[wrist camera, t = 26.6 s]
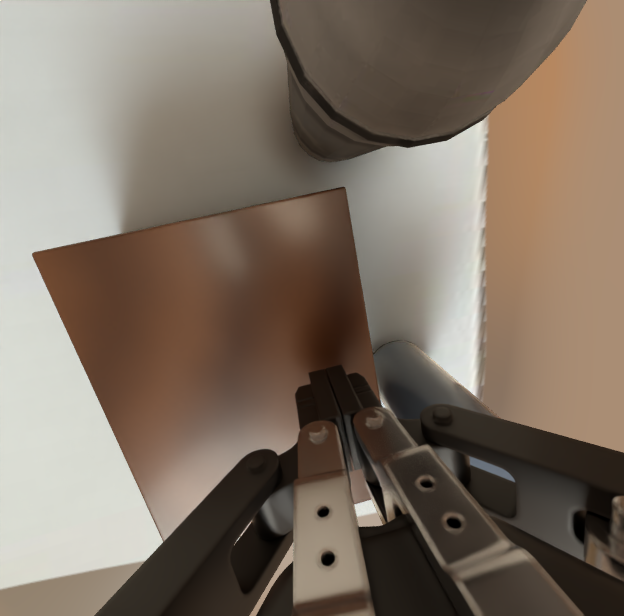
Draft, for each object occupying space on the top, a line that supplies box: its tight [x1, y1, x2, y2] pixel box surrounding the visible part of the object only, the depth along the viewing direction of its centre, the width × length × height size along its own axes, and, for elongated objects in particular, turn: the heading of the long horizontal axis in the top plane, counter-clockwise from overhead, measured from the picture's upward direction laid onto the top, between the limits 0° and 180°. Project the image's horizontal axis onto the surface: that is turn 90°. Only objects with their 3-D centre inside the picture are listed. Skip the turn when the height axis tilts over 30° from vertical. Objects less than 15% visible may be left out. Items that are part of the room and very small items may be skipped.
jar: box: [373, 341, 515, 482], centre depth 19 cm, size 4×4×10 cm
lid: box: [32, 187, 381, 542], centre depth 15 cm, size 12×16×1 cm
